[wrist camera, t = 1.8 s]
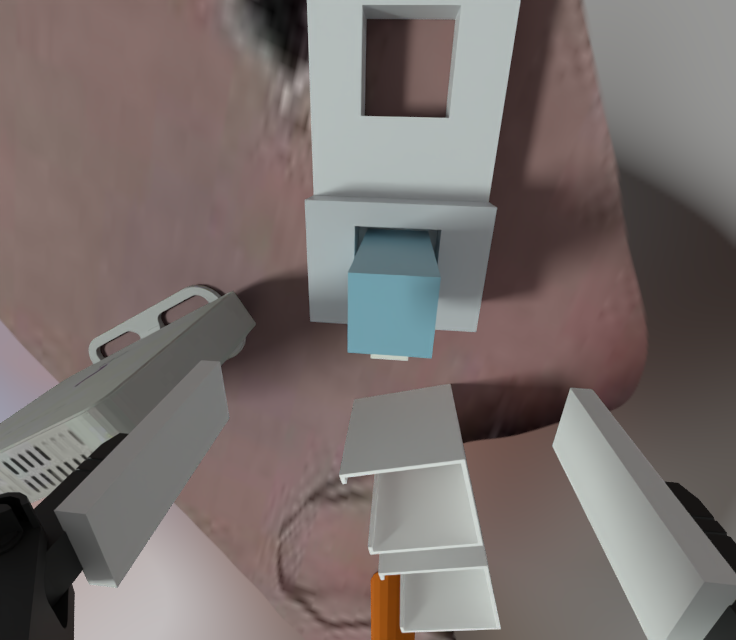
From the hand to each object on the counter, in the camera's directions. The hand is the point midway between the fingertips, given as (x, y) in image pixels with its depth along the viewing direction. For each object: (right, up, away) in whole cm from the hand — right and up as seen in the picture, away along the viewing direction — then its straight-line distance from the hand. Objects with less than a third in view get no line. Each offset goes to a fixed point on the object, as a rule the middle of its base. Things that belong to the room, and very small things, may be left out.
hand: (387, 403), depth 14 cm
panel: (+2, +16, +17) cm, 24 cm away
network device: (-23, +1, +27) cm, 36 cm away
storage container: (+6, -16, +32) cm, 36 cm away
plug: (+2, +8, +18) cm, 20 cm away
